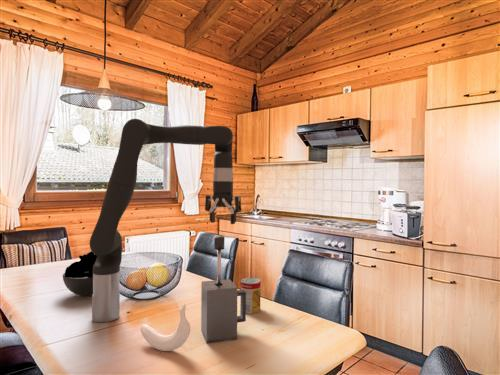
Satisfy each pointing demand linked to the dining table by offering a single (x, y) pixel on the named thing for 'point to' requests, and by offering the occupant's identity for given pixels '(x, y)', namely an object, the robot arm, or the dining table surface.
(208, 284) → the press jar
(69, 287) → the bowl of black rocks
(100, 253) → the robot arm
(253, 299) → the canned food
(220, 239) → the plunger
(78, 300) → the dining table surface
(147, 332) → the banana
